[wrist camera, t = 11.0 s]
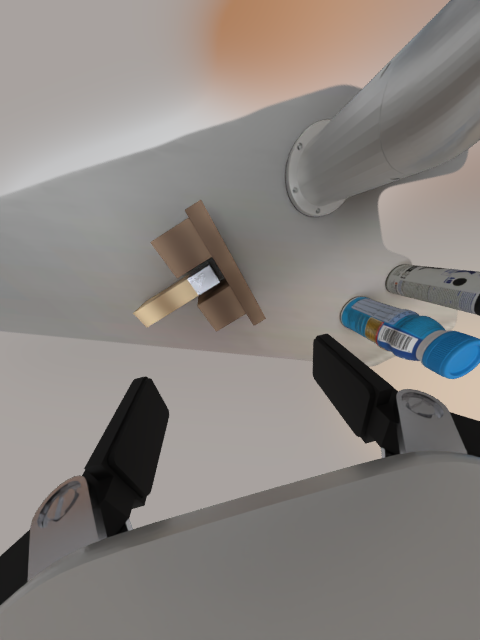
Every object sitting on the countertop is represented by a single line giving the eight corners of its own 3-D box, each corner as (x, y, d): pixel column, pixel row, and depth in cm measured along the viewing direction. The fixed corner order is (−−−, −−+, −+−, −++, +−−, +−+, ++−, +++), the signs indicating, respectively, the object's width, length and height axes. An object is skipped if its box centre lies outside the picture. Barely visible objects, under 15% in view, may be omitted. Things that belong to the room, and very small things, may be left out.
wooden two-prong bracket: (202, 217, 28) (200, 199, 18) (247, 296, 35) (265, 318, 24) (162, 243, 29) (136, 241, 18) (214, 316, 36) (218, 347, 25)
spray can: (415, 267, 40) (586, 283, 22) (400, 294, 43) (544, 330, 25) (393, 262, 39) (559, 275, 21) (379, 291, 41) (517, 326, 23)
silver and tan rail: (208, 262, 31) (209, 265, 26) (217, 276, 33) (219, 282, 27) (145, 301, 32) (133, 313, 27) (156, 314, 33) (146, 327, 28)
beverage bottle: (359, 288, 40) (489, 322, 22) (375, 309, 43) (499, 354, 25) (332, 315, 41) (432, 368, 23) (349, 333, 44) (448, 392, 26)
